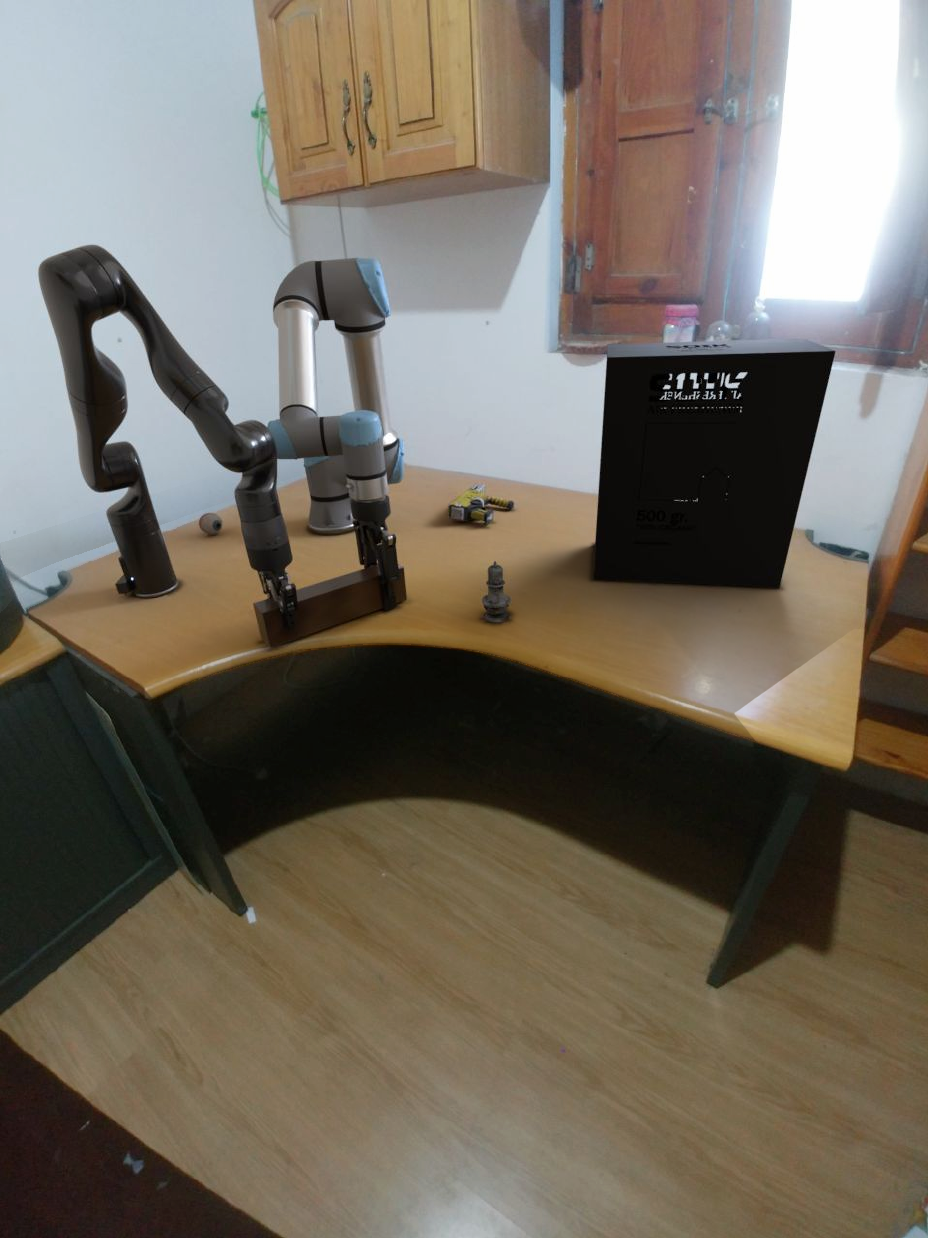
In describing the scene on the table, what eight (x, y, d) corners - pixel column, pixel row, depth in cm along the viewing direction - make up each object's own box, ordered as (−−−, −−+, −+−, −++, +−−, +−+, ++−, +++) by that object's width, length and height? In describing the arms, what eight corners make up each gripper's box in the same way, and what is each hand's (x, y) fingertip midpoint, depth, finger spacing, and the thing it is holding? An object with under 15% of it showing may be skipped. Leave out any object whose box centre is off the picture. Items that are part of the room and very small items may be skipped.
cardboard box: (759, 548, 141) (803, 338, 119) (779, 587, 124) (835, 350, 102) (595, 543, 149) (607, 344, 126) (593, 579, 132) (607, 357, 109)
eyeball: (212, 539, 164) (206, 518, 161) (197, 535, 167) (191, 515, 164) (230, 531, 169) (224, 511, 166) (215, 528, 172) (210, 508, 169)
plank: (270, 648, 113) (262, 613, 109) (260, 637, 116) (252, 603, 112) (407, 599, 128) (404, 567, 124) (395, 591, 131) (391, 559, 127)
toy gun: (522, 488, 179) (474, 481, 183) (499, 513, 159) (446, 504, 163) (520, 503, 181) (473, 496, 185) (498, 529, 161) (446, 520, 165)
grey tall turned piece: (509, 624, 117) (508, 568, 111) (479, 622, 118) (477, 567, 112) (513, 609, 122) (512, 555, 116) (484, 607, 123) (482, 554, 117)
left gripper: (232, 533, 110) (253, 614, 118) (260, 557, 100) (280, 644, 108) (272, 523, 114) (289, 602, 122) (302, 545, 103) (319, 630, 112)
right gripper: (330, 490, 120) (348, 593, 132) (375, 513, 107) (389, 625, 119) (364, 482, 124) (377, 583, 136) (410, 503, 111) (421, 613, 123)
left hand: (285, 621), depth 115 cm, fingers closed on plank, 5 cm apart
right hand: (383, 602), depth 127 cm, fingers closed on plank, 5 cm apart
